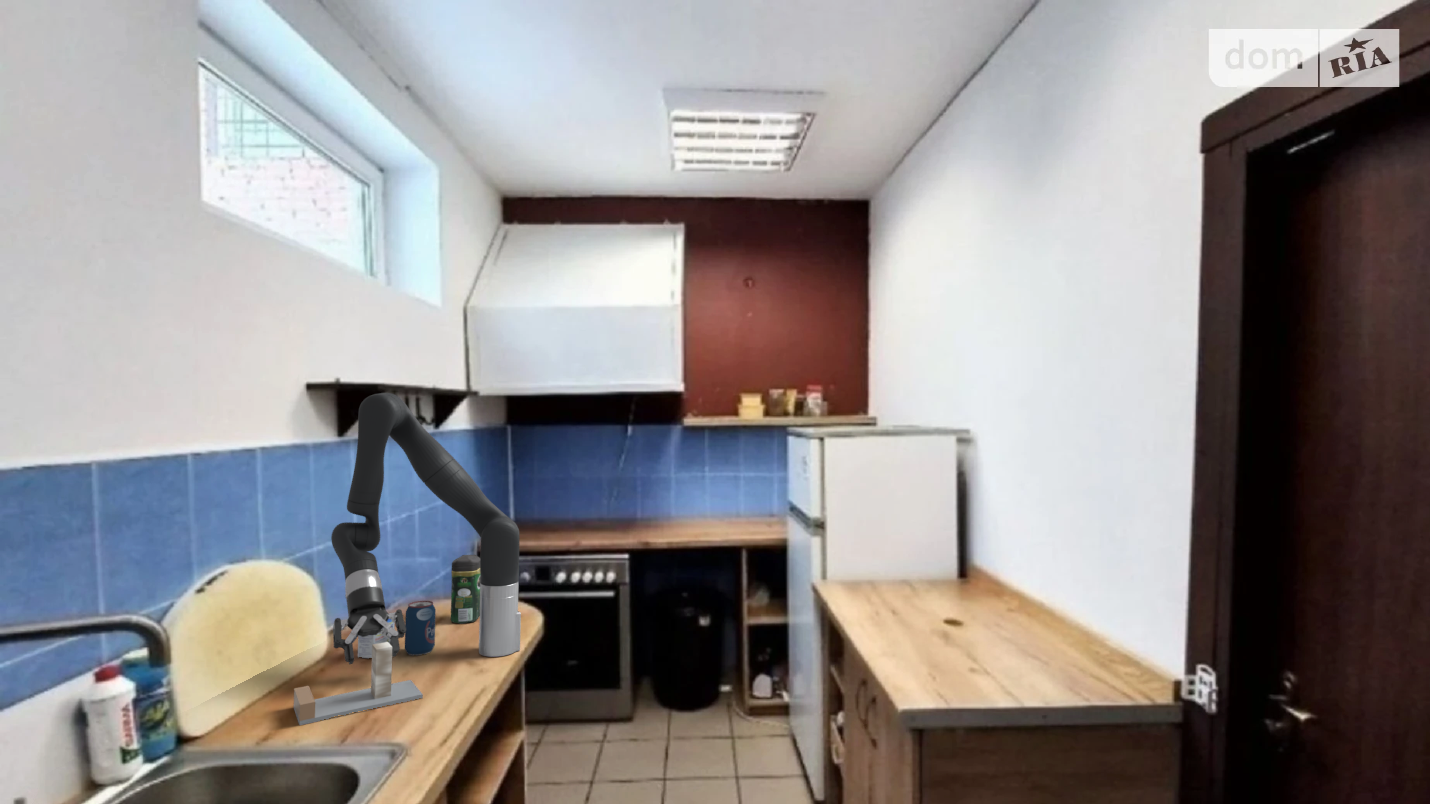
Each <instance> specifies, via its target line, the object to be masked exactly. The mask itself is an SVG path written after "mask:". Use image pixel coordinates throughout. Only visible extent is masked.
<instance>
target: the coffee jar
mask: <svg viewBox="0 0 1430 804" xmlns="http://www.w3.org/2000/svg"><path fill="white" fill-rule="evenodd" d="M480 580H481V578H480V556H478V555H477V554H462V555H461V556H459V557H457V558H455V559H454V560H453V561H452V562H451V590H450V591H451V592H450V593H451V597H450V598H451V600H450V601H451V603H450V622H451V623H454V624H459V625H460V624H461V625H462V624H463V625H464V624H467V623H475V622H476V621H477V620H479V619H480Z"/></svg>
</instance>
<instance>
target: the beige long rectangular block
mask: <svg viewBox="0 0 1430 804" xmlns="http://www.w3.org/2000/svg"><path fill="white" fill-rule="evenodd" d="M392 664H393V657H392V646H391V645H390V644H389V643H388V642H384V643H378V644H372V659H371V675H370V676H371V679H370V688H371V694H372V695H373V697H374V698H375V699H378V698H382V697H387V696H391V684H392V673H393V670H392V669H393V668H392V667H393V665H392Z"/></svg>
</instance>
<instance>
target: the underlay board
mask: <svg viewBox="0 0 1430 804" xmlns="http://www.w3.org/2000/svg"><path fill="white" fill-rule="evenodd" d="M423 695H424V694H423V692H422V691H420V689H419V688H418V687H417V685H416V684H415V683H414V682H413V680H412V679H407V680H402V681H398V682H393V683H391V696H387V697H382V698H378V699H375V698H374V697H373V695H372V694H371V687H369V688H363V689H360V690H354V691H349V692H344V693H340V694H333V695H330V696H324V697H320V698H315V697H314V695H313V693H312V690H311V688H310V686H309V685H305V686H299V687H295V688H293V710H294V712H295V716H296V719H297V723H298V725H299V726H303V725H308V724H311V723H317V722H321V721H320V720H322V721H325V720H324V719H326V720H330V719H329V718H331V717H334V716H338V715H344V716H347V715H346V714H349V713H352V712H358V711H363V710H367V709H372V710H374V709H373V708H376V709H378V708H377V707H381V708H383V707H382V706H385V707H387V706H386V705H390V706H394V705H397V704H396V703H399V704H402V703H401V702H403V703H407V701H408V702H411V701H410V700H412V701H415V699H417V700H420V699H419V698H421V699H423V698H424V696H423ZM393 704H394V705H393ZM367 711H368V710H367ZM363 712H364V711H363ZM358 713H359V712H358ZM349 715H350V714H349ZM331 719H332V718H331Z"/></svg>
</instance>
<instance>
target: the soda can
mask: <svg viewBox="0 0 1430 804" xmlns="http://www.w3.org/2000/svg"><path fill="white" fill-rule="evenodd" d="M436 613H437V612H436V607H435V606H434V602H433V601H432V600H417V601H413V602H410V603H408V606H407V609H406V610H405V619H404V622H405V626H406V632H405V635H404V650H405V652H406V653H407V655H409V656H414V655H416V656H423V655H422V654H424V655H427V653H428V654H429V653H431V652H432V651H433V649H434V647H435V645H436Z"/></svg>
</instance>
